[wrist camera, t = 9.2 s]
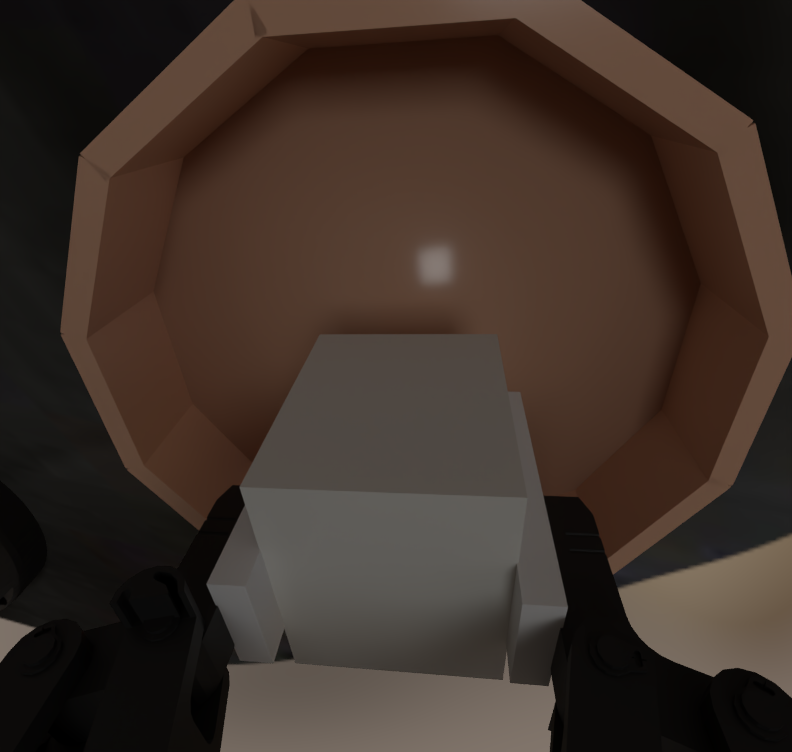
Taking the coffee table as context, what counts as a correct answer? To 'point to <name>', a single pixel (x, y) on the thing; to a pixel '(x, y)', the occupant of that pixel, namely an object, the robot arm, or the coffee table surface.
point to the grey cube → (393, 505)
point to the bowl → (434, 243)
